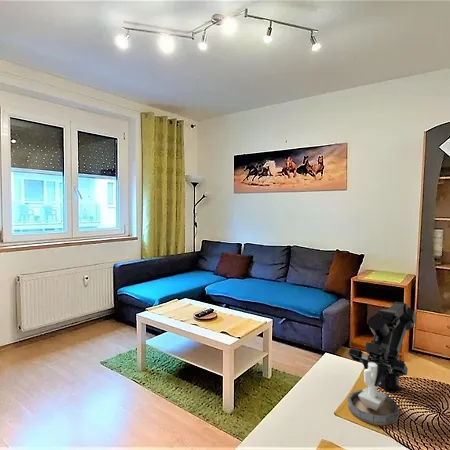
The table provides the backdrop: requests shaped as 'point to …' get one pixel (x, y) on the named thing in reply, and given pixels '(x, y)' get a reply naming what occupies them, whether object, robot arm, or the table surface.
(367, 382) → the figurine
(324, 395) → the table surface
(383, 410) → the brown round plate
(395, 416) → the round grey tray
